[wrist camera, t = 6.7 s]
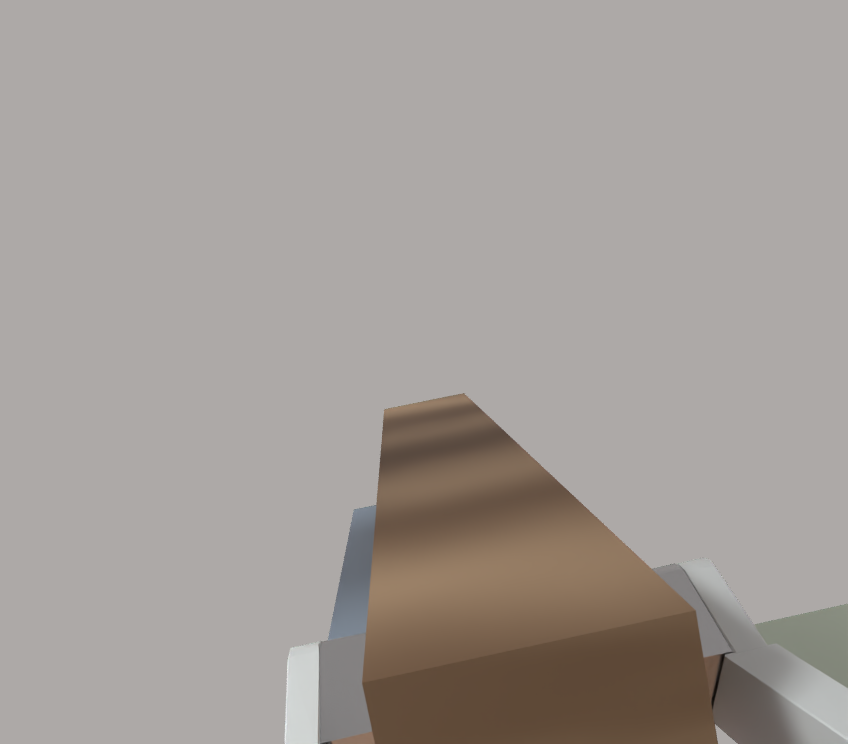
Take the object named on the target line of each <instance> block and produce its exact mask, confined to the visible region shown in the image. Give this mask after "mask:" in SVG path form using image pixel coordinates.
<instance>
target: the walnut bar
mask: <svg viewBox="0 0 848 744" xmlns="http://www.w3.org/2000/svg"><path fill="white" fill-rule="evenodd" d="M362 685H363V690H364V695H365V700H366V704H367V709H368V714H369V718H370V723H371V728H372V732H373V737H374V742H375V744H718V741H717V735H716V729H715V723H714V717H713V711H712V705H711V699H710V693H709V687H708V681H707V675H706V669H705V663H704V657H703V651H702V645H701V639H700V633H699V627H698V621H697V615H696V610H695V609H694V608H693V607H692V606H691V605H690V604H688V603H687V602H686V601H685V600H684V599H683V598H682V597H681V596H680V595H679V594H678V593H677V592H676V591H675V590H674V589H672V588H671V587H670V586H669V585H668V584H667V583H666V582H665V581H664V580H663V579H662V578H661V577H660V576H659V575H657V574H656V573H655V572H654V571H653V570H652V569H651V568H650V567H649V566H648V565H647V564H646V563H645V562H644V561H642V560H641V559H640V558H639V557H638V556H637V555H636V554H635V553H634V552H633V551H632V550H631V549H630V548H629V547H628V546H626V545H625V544H624V543H623V542H622V541H621V540H620V539H619V538H618V537H617V536H615V534H614V533H613V532H611V531H610V530H609V529H608V528H607V527H606V526H605V525H604V524H603V523H602V522H601V521H600V520H599V519H598V518H597V517H595V516H594V515H593V514H592V513H591V512H590V511H589V510H588V509H587V508H586V507H585V506H584V505H583V504H582V503H581V502H579V501H578V500H577V499H576V498H575V497H574V496H573V495H572V494H571V493H570V492H569V491H568V490H567V489H566V488H564V487H563V486H562V485H561V484H560V483H559V482H558V481H557V480H556V479H555V478H554V477H553V476H552V475H551V474H549V473H548V472H547V471H546V470H545V469H544V468H543V467H542V466H541V465H540V464H539V463H538V462H537V461H536V460H534V459H533V458H532V457H531V456H530V455H529V454H528V453H527V452H526V451H525V450H524V449H523V448H522V447H521V446H520V445H519V444H517V443H516V442H515V441H514V440H513V439H512V438H511V437H510V436H509V435H508V434H507V433H506V432H505V431H504V430H502V429H501V428H500V427H499V426H498V425H497V424H496V423H495V422H494V421H493V420H492V419H491V418H490V417H489V416H487V415H486V414H485V413H484V412H483V411H482V410H481V409H480V408H479V407H478V406H477V405H476V404H475V403H474V402H473V401H472V400H470V399H469V398H468V397H467V396H466V395H465V394H464V393H463V394H458V395H453V396H448V397H443V398H438V399H433V400H429V401H423V402H418V403H413V404H409V405H404V406H398V407H394V408H389V409H385V410H384V420H383V432H382V444H381V457H380V469H379V481H378V493H377V505H376V517H375V530H374V542H373V554H372V566H371V578H370V591H369V603H368V615H367V627H366V639H365V652H364V664H363V676H362Z"/></svg>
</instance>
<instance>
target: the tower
mask: <svg viewBox="0 0 848 744" xmlns="http://www.w3.org/2000/svg"><path fill="white" fill-rule="evenodd" d="M375 517H376V505H374V506H369V507H364V508H359V509H355V510H354V512H353V517H352V522H351V527H350V532H349V537H348V542H347V547H346V552H345V557H344V563H343V568H342V572H341V577H340V582H339V588H338V593H337V597H336V603H335V607H334V612H333V617H332V623H331V628H330V633H329V638H328V640H332V639H337V638H341V637H346V636H351V635H356V634H360V633H365V632H366V627H367V615H368V603H369V591H370V578H371V566H372V554H373V542H374V530H375Z"/></svg>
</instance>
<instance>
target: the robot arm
mask: <svg viewBox="0 0 848 744" xmlns="http://www.w3.org/2000/svg"><path fill="white" fill-rule="evenodd" d="M652 570H653V571H654V572H655V573H656V574H657V575H659V576H660V577H661V578H662V579H663V580H664V581H665V582H666V583H667V584H668V585H669V586H670V587H671V588H672V589H674V590H675V591H676V592H677V593H678V594H679V595H680V596H681V597H682V598H683V599H684V600H685V601H686V602H687V603H688V604H690V605H691V606H692V607H693V608H694V609H695V610H696V615H697V621H698V627H699V633H700V639H701V645H702V651H703V657H704V663H705V669H706V675H707V681H708V687H709V693H710V699H711V705H712V711H713V717H714V723H715V724H716V725H717V726H718V727H719V728H720V729H722V730H723V731H724V732H725V733H726V734H727V735H728V736H730V737H731V738H732V739H733V740H734V741H735V742H736V743H738V744H848V688H847V687H845V686H844V685H842V684H840V683H839V682H837V681H836V680H834V679H832V678H831V677H829V676H828V675H826V674H824V673H823V672H821V671H820V670H818V669H816V668H815V667H813V666H812V665H810V664H808V663H807V662H805V661H804V660H802V659H801V658H799V657H797V656H796V655H794V654H793V653H791V652H789V651H788V650H786V649H785V648H783V647H781V646H780V645H778V644H777V643H776V644H770V645H767V644H766V642H765V641H764V639H763V638H762V636H761V634H760V633H759V631H758V630H757V628H756V627H755V625H754V624H753V622H752V621H751V620H750V618H749V616H748V615H747V614H746V612H745V610H744V609H743V607H742V606H741V604H740V603H739V602H738V599H737V598H736V596H735V595H734V594H733V592H732V590H731V589H730V587H729V586H728V584H727V583H726V581H725V580H724V578H723V577H722V575H721V574H720V572H719V571H718V569H717V568H716V566H715V565H714V563H713V562H711V561H710V560H709V559H707V558H700V559H696V560H691V561H687V562H683V563H678V564H671V565H666V566H662V567H658V568H654V569H652ZM365 639H366V632H365V633H360V634H356V635H351V636H346V637H341V638H337V639H332V640H327V641H320V642H315V643H311V644H307V645H302V646H298V647H293V648H291V649H290V653H289V656H288V664H287V691H286V692H287V693H286V717H285V718H286V719H285V744H375V742H374V737H373V732H372V728H371V723H370V718H369V714H368V709H367V704H366V700H365V695H364V690H363V685H362V676H363V664H364V652H365Z"/></svg>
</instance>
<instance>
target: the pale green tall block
mask: <svg viewBox="0 0 848 744" xmlns="http://www.w3.org/2000/svg"><path fill="white" fill-rule="evenodd" d="M755 627H756V628H757V630H758V631H759V633H760V634H761V636H762V638H763V639H764V641H765V642H766V644H767V645H770V644H776V643H777V644H778V645H780V646H781V647H783V648H785V649H786V650H788V651H789V652H791V653H793V654H794V655H796V656H797V657H799V658H801V659H802V660H804V661H805V662H807V663H808V664H810V665H812V666H813V667H815V668H816V669H818V670H820V671H821V672H823V673H824V674H826V675H828V676H829V677H831V678H832V679H834V680H836V681H837V682H839V683H840V684H842V685H844V686H845V687H847V688H848V604H845V605H840V606H836V607H831V608H827V609H823V610H818V611H814V612H809V613H805V614H800V615H795V616H791V617H786V618H782V619H777V620H773V621H768V622H764V623H759V624H755Z"/></svg>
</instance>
